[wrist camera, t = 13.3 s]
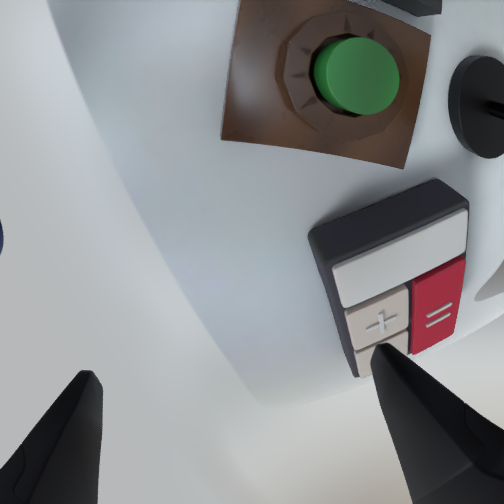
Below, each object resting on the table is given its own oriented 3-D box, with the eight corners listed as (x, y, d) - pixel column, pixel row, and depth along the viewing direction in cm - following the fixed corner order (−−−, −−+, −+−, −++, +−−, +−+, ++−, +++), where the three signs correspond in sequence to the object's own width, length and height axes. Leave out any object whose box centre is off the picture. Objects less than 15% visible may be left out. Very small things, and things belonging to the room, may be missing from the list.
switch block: (220, 134, 16) (221, 147, 14) (241, -14, 12) (248, -34, 9) (390, 161, 18) (419, 179, 15) (415, 36, 14) (450, 34, 11)
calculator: (357, 386, 25) (326, 271, 17) (342, 350, 29) (305, 231, 20) (457, 336, 24) (477, 203, 15) (437, 306, 28) (439, 176, 19)
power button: (307, 101, 13) (319, 105, 12) (319, 31, 11) (333, 27, 10) (374, 117, 14) (391, 123, 12) (386, 52, 12) (405, 52, 10)
